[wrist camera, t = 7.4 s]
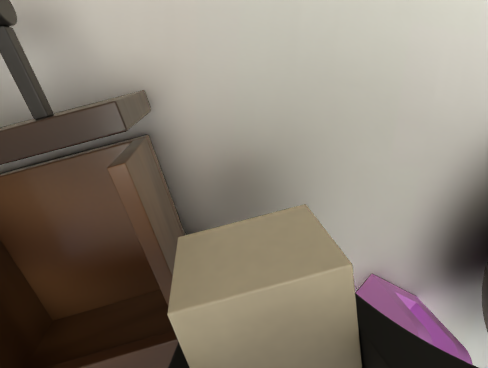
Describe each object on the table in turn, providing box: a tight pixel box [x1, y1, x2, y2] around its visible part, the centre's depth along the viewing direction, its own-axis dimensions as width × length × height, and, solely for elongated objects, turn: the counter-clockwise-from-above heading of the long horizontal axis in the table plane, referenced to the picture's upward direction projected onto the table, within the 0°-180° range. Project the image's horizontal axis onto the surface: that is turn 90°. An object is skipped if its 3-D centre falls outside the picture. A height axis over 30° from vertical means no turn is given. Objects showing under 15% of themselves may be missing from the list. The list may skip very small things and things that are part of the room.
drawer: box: [0, 0, 185, 368], centre depth 15 cm, size 18×12×6 cm, turn 13°
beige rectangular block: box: [167, 204, 362, 368], centre depth 11 cm, size 5×8×4 cm
